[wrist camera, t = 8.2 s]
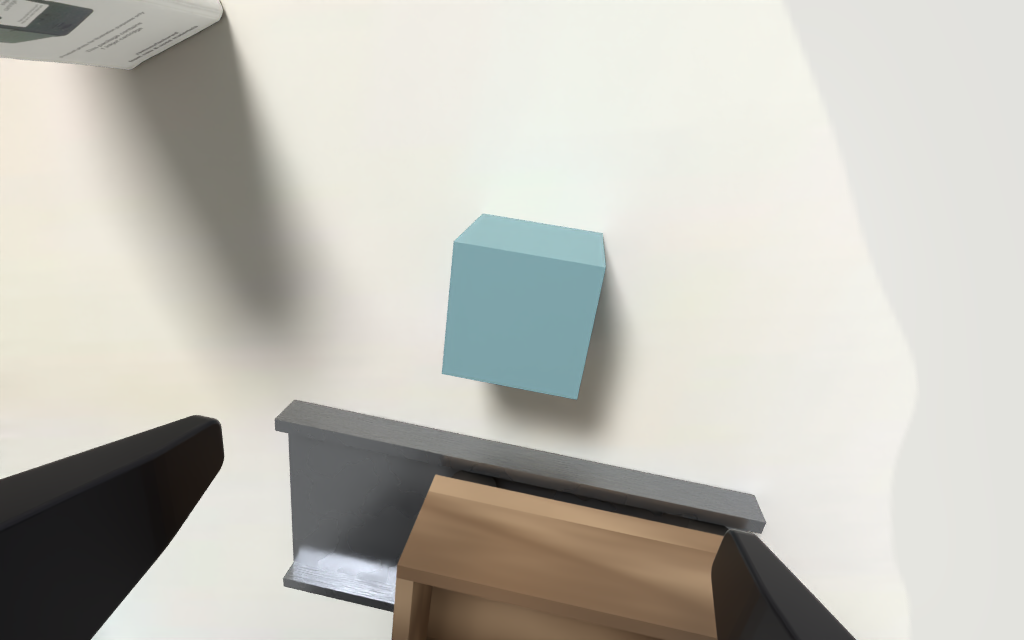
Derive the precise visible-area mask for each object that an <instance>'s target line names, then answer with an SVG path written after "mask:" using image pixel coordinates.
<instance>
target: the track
mask: <svg viewBox="0 0 1024 640" xmlns="http://www.w3.org/2000/svg"><path fill="white" fill-rule="evenodd" d="M275 431H280V432H285V433H288V435H289V459H290V483H291V507H292V531H293V556H294V563H293V564H292V566H291V567H290V569H289V570H288V572H287V573H286V575H285V576H284V578H283V582H284V586H285V587H289V588H293V589H297V590H302V591H306V592H310V593H314V594H319V595H323V596H327V597H331V598H336V599H340V600H344V601H348V602H353V603H357V604H361V605H365V606H369V607H374V608H378V609H382V610H386V611H391V612H394V602H395V588H396V574H397V564H398V562H399V559H400V557H401V555H402V552H403V550H404V548H405V545H406V543H407V540H408V538H409V536H410V533H411V531H412V529H413V526H414V524H415V522H416V519H417V517H418V515H419V512H420V510H421V507H422V505H423V503H424V500H425V498H426V496H427V493H428V491H429V489H430V486H431V484H432V481H433V479H434V477H435V475H440V476H445V477H449V478H451V477H452V476H453V475H454V474H455V473H456V472H458V471H461V470H464V471H468V472H473V473H478V474H483V475H487V476H492V477H493V479H494V480H495V482H496V487H497V488H501V489H505V490H510V491H515V492H519V493H524V494H529V495H533V496H538V497H543V498H547V499H552V500H557V501H561V502H566V503H571V504H576V505H580V506H585V507H590V508H594V509H599V510H604V511H608V512H613V513H618V514H622V515H627V516H632V517H636V518H641V519H646V520H650V521H655V522H660V523H664V524H669V525H674V526H678V527H683V528H687V526H688V523H689V522H690V521H691V520H692V519H694V520H699V521H704V522H708V523H713V524H718V525H723V526H725V527H727V528H728V529H729V530H730V529H736V530H740V531H745V532H747V531H751V532H756V533H760V534H761V533H762V531H763V529H764V526H765V524H766V521H765V519H764V517H763V514H762V512H761V510H760V507H759V505H758V503H757V500H756V498H755V496H754V495H751V494H746V493H741V492H737V491H732V490H727V489H722V488H717V487H712V486H708V485H703V484H698V483H693V482H688V481H683V480H679V479H674V478H669V477H664V476H659V475H654V474H650V473H645V472H640V471H635V470H630V469H626V468H621V467H616V466H611V465H606V464H601V463H597V462H592V461H587V460H582V459H577V458H572V457H568V456H563V455H558V454H553V453H548V452H543V451H539V450H534V449H529V448H524V447H519V446H514V445H510V444H505V443H500V442H495V441H490V440H486V439H481V438H476V437H471V436H466V435H461V434H457V433H452V432H447V431H442V430H437V429H432V428H428V427H423V426H418V425H413V424H408V423H403V422H399V421H394V420H389V419H384V418H379V417H375V416H370V415H365V414H360V413H355V412H350V411H346V410H341V409H336V408H331V407H326V406H321V405H317V404H312V403H307V402H302V401H297V400H294V401H293V402H292V403H291V404H290V405H289V406H288V407H287V408H286V409H285V410H284V411H283V412H282V413H281V414H279V415H278V416H277V417H276V418H275Z"/></svg>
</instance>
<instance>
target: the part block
mask: <svg viewBox="0 0 1024 640" xmlns="http://www.w3.org/2000/svg"><path fill="white" fill-rule="evenodd" d="M605 269H606V264H605V254H604V244H603V233H598V232H592V231H585V230H579V229H573V228H567V227H561V226H555V225H549V224H543V223H537V222H531V221H525V220H519V219H513V218H507V217H500V216H494V215H488V214H482V215H481V216H480V217H479V218H478V219H477V220H476V221H475V222H474V223H473V224H472V225H471V226H470V227H468V228H467V229H466V230H465V231H464V232H463V233H462V234H461V235H460V236H459V237H458V238H457V239H456V240H455V241H454V245H453V256H452V267H451V278H450V289H449V300H448V311H447V322H446V334H445V345H444V356H443V367H442V374H445V375H451V376H456V377H461V378H466V379H471V380H477V381H482V382H487V383H492V384H497V385H503V386H508V387H513V388H518V389H524V390H529V391H534V392H539V393H544V394H550V395H555V396H560V397H565V398H570V399H576V400H577V398H578V393H579V388H580V384H581V379H582V375H583V370H584V365H585V361H586V356H587V352H588V347H589V342H590V338H591V333H592V329H593V324H594V319H595V315H596V310H597V306H598V301H599V296H600V292H601V287H602V283H603V278H604V273H605Z"/></svg>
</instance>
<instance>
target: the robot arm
mask: <svg viewBox="0 0 1024 640" xmlns="http://www.w3.org/2000/svg"><path fill="white" fill-rule="evenodd" d="M223 461H224V448H223V439H222V429H221V424H220V422H219V421H218V420H216V419H214V418H210V417H205V416H200V415H193V416H190V417H187V418H184V419H181V420H178V421H175V422H172V423H169V424H166V425H163V426H160V427H157V428H154V429H151V430H148V431H145V432H142V433H139V434H136V435H133V436H130V437H127V438H124V439H121V440H118V441H115V442H112V443H109V444H106V445H103V446H100V447H97V448H94V449H91V450H88V451H85V452H82V453H79V454H75V455H72V456H69V457H66V458H63V459H60V460H57V461H54V462H51V463H48V464H45V465H42V466H39V467H36V468H33V469H30V470H27V471H24V472H21V473H18V474H15V475H12V476H9V477H6V478H3V479H0V640H91V639H92V637H93V636H94V635H95V634H96V633H97V631H98V630H99V629H100V628H101V627H102V625H103V624H104V623H105V622H106V620H107V619H108V618H109V617H110V616H111V614H112V613H113V612H114V611H115V610H116V608H117V607H118V606H119V605H120V603H121V602H122V601H123V600H124V599H125V597H126V596H127V595H128V594H129V593H130V591H131V590H132V589H133V588H134V587H135V585H136V584H137V583H138V582H139V580H140V579H141V578H142V577H143V576H144V574H145V573H146V572H147V571H148V570H149V568H150V567H151V566H152V565H153V563H154V562H155V561H156V560H157V559H158V557H159V556H160V555H161V554H162V552H163V551H164V550H165V548H166V547H167V546H168V545H169V543H170V542H171V541H172V539H173V538H174V536H175V535H176V534H177V532H178V531H179V529H180V528H181V526H182V525H183V523H184V522H185V520H186V519H187V518H188V516H189V515H190V513H191V512H192V510H193V509H194V507H195V506H196V504H197V503H198V501H199V500H200V498H201V497H202V495H203V494H204V493H205V491H206V490H207V488H208V487H209V485H210V484H211V482H212V481H213V479H214V478H215V476H216V475H217V473H218V472H219V470H220V469H221V467H222V464H223ZM711 582H712V592H713V602H714V612H715V621H716V631H717V640H856V639H855V638H854V637H853V636H852V635H851V634H850V633H849V632H848V631H847V630H846V628H845V627H844V626H843V625H842V624H841V623H840V622H839V621H838V620H837V619H836V618H835V617H834V616H833V615H832V614H831V613H830V612H829V611H828V610H827V609H826V608H825V607H824V606H823V604H822V603H821V602H820V601H819V600H818V599H817V598H816V597H815V596H814V595H813V594H812V593H811V592H810V591H809V590H808V589H807V588H806V587H805V586H804V585H803V584H802V583H801V581H800V580H799V579H798V578H797V577H796V576H795V575H794V574H793V573H792V572H791V571H790V570H789V569H788V568H787V567H786V566H785V565H784V564H783V563H782V562H781V561H780V560H779V558H778V557H777V556H776V555H775V554H774V553H773V552H772V551H771V550H770V549H769V548H768V547H767V546H766V545H765V544H764V543H763V542H762V541H761V540H760V539H759V538H758V537H757V536H756V535H755V534H753V533H750V532H745V531H740V530H736V529H730V530H728V531H727V532H726V533H725V535H724V537H723V539H722V542H721V544H720V547H719V549H718V551H717V554H716V556H715V558H714V561H713V564H712V568H711Z"/></svg>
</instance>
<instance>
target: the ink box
mask: <svg viewBox="0 0 1024 640" xmlns="http://www.w3.org/2000/svg"><path fill="white" fill-rule="evenodd" d="M222 13H223V8H222V6H221V3H220V1H219V0H0V58H11V59H20V60H31V61H45V62H58V63H70V64H81V65H90V66H99V67H109V68H119V69H126V70H130V69H133V68H135V67H136V66H137V65H139V64H140V63H141V62H143V61H145V60H147V59H148V58H150V57H152V56H154V55H156V54H158V53H160V52H162V51H164V50H166V49H168V48H170V47H171V46H173V45H175V44H177V43H179V42H181V41H182V40H184V39H186V38H188V37H190V36H192V35H194V34H196V33H197V32H199V31H201V30H203V29H205V28H207V27H208V26H210V25H212V24H214V23H216V22H217V21H219V20H220V18H221V16H222Z"/></svg>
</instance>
